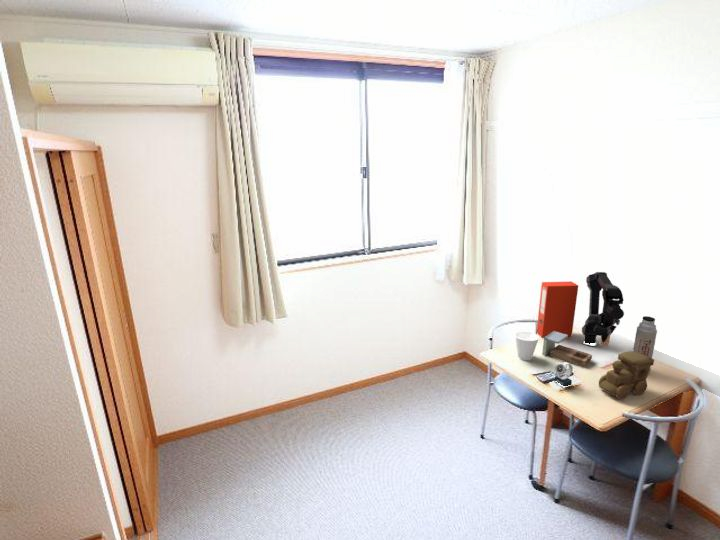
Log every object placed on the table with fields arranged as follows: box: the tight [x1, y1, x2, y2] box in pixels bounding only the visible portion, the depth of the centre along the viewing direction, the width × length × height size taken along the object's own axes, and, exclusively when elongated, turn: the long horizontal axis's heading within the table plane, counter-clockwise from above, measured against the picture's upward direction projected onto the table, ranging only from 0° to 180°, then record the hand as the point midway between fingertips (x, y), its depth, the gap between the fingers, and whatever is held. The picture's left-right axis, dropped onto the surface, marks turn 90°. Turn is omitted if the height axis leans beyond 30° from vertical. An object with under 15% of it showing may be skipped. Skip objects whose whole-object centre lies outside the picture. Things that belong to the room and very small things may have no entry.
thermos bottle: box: [632, 315, 658, 375], centre depth 200 cm, size 8×8×28 cm
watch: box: [554, 361, 574, 386], centre depth 192 cm, size 6×8×11 cm
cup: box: [514, 330, 540, 361], centre depth 218 cm, size 12×12×12 cm
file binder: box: [536, 280, 579, 339], centre depth 241 cm, size 8×17×32 cm, turn 90°
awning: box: [541, 331, 569, 357], centre depth 222 cm, size 12×8×10 cm, turn 132°
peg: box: [599, 330, 612, 347], centre depth 209 cm, size 4×4×8 cm
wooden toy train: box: [598, 350, 655, 401], centre depth 185 cm, size 20×11×17 cm, turn 109°
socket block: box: [549, 344, 593, 369], centre depth 216 cm, size 10×17×4 cm, turn 42°
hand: (604, 340), depth 210 cm, fingers closed on peg, 4 cm apart
